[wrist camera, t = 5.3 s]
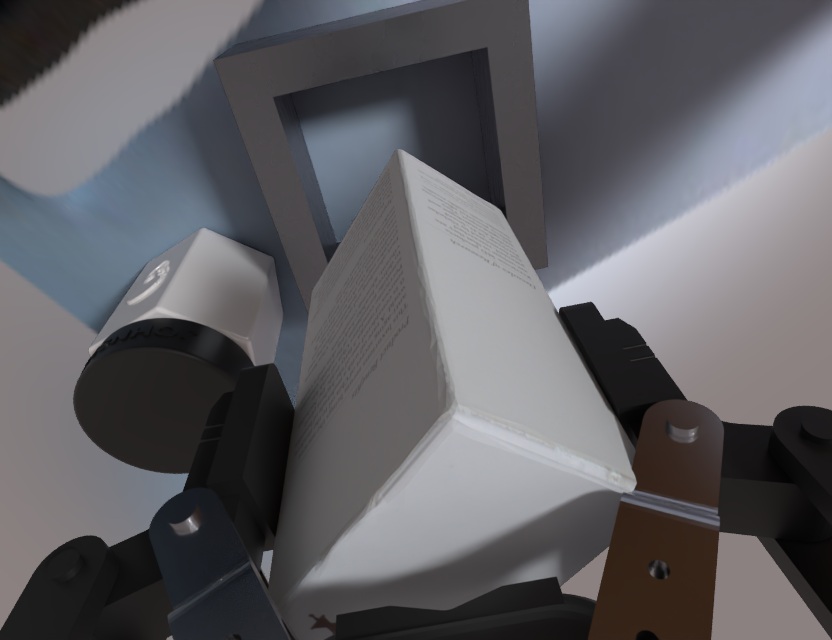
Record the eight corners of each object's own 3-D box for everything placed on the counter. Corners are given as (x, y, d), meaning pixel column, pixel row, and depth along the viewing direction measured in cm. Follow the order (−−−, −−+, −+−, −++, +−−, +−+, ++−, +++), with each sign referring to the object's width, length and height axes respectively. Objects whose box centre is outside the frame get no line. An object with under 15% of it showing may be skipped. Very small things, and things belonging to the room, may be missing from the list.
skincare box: (412, 337, 21) (453, 684, 11) (310, 289, 19) (249, 640, 9) (509, 205, 18) (677, 507, 8) (398, 138, 17) (442, 407, 7)
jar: (230, 204, 33) (173, 312, 23) (311, 301, 37) (294, 428, 27) (118, 276, 35) (22, 404, 25) (208, 360, 39) (156, 499, 29)
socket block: (502, -19, 28) (527, -15, 24) (525, 230, 36) (548, 266, 31) (234, 44, 28) (213, 60, 24) (315, 276, 36) (309, 318, 32)
